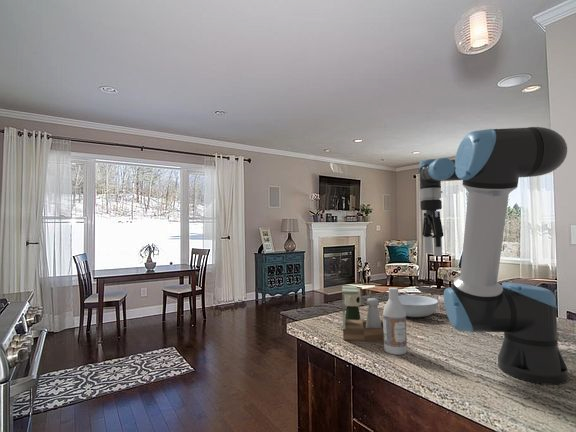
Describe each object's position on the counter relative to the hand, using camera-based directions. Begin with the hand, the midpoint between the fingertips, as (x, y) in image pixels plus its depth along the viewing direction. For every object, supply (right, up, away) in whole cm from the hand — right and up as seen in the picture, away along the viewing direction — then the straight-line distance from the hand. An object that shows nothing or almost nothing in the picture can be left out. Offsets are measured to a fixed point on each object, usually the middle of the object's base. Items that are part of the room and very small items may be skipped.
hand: (432, 254), depth 125 cm
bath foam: (-22, -29, -22) cm, 42 cm away
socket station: (-28, -29, -6) cm, 41 cm away
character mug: (-28, -30, +13) cm, 43 cm away
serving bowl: (0, -30, +20) cm, 36 cm away
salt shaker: (-25, -29, -7) cm, 39 cm away
